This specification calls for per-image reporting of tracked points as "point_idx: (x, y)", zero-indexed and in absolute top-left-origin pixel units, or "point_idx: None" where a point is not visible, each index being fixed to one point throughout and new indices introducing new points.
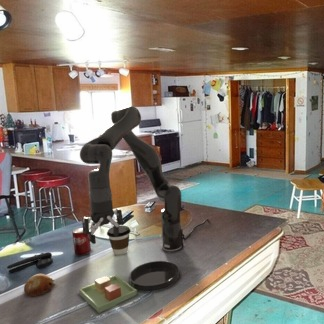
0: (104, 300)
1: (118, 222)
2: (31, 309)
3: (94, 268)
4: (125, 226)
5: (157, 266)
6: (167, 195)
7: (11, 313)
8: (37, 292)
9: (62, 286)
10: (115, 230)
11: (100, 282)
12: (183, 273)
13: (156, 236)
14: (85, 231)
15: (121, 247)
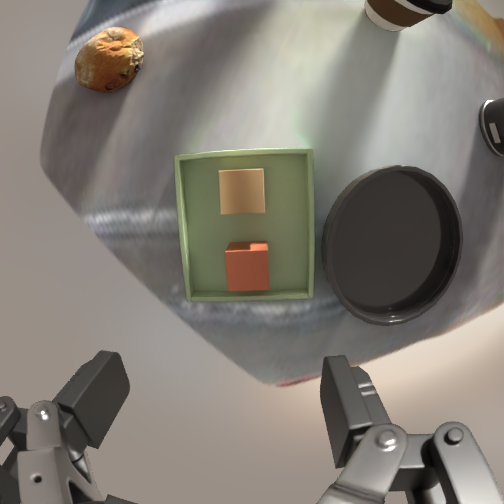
0: (222, 253)
1: (400, 489)
2: (75, 152)
3: (280, 35)
4: None
5: (434, 190)
6: None
7: (49, 143)
8: (96, 90)
9: (160, 78)
10: (331, 440)
11: (228, 204)
12: None
13: (481, 40)
14: (16, 458)
15: (393, 20)
